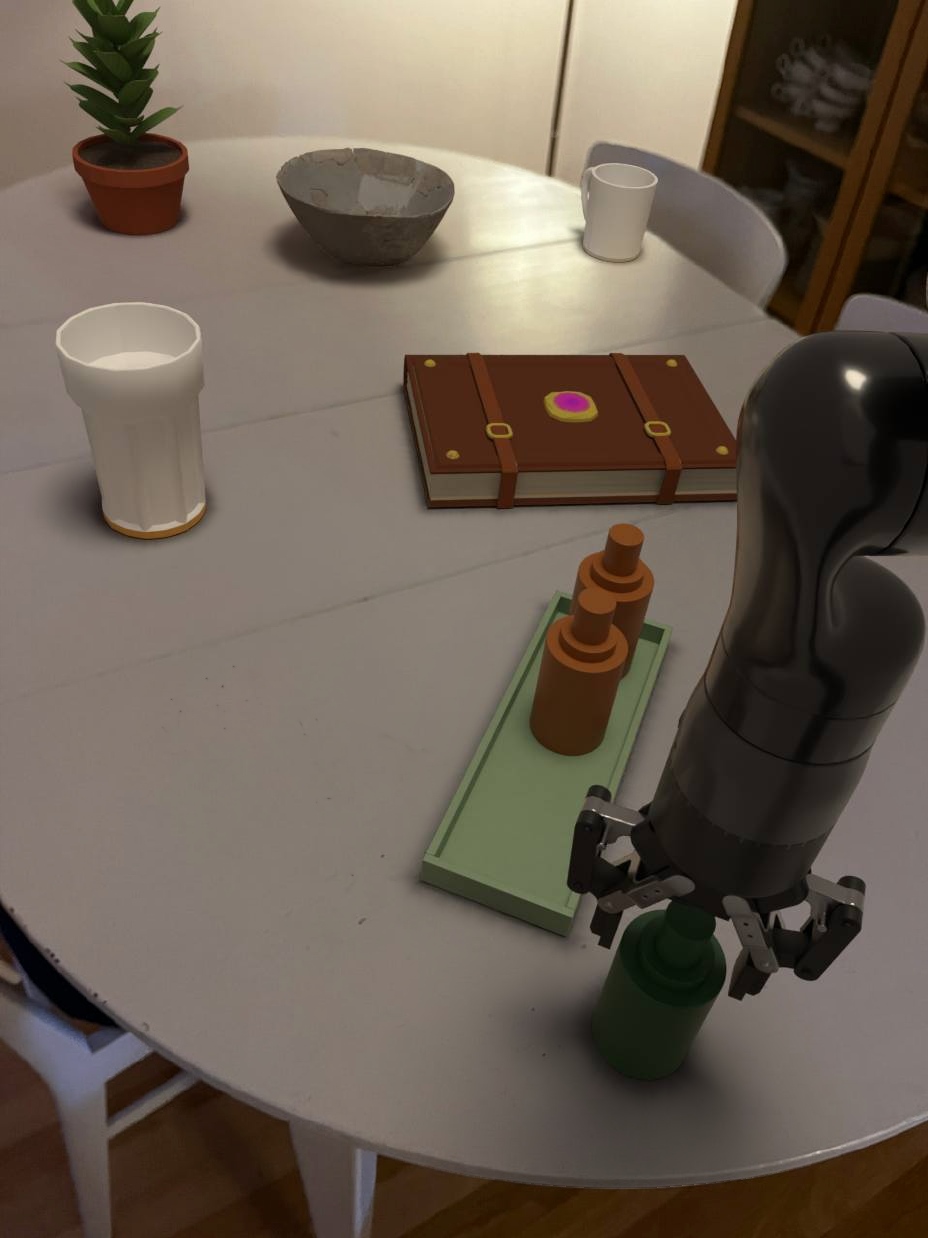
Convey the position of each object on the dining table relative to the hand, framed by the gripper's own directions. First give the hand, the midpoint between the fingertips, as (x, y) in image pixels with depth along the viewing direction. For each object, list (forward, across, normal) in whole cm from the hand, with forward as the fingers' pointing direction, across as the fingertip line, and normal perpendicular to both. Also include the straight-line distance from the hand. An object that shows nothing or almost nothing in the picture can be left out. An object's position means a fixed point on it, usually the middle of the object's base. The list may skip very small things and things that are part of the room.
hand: (672, 958), depth 55 cm
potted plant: (+9, -91, +83) cm, 123 cm away
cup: (+9, -53, +30) cm, 62 cm away
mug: (+9, -32, +109) cm, 114 cm away
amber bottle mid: (+8, -11, +21) cm, 25 cm away
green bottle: (+9, 0, 0) cm, 9 cm away
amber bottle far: (+8, -11, +29) cm, 32 cm away
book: (+9, -23, +59) cm, 64 cm away
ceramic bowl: (+9, -60, +89) cm, 107 cm away
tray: (+9, -11, +19) cm, 23 cm away
